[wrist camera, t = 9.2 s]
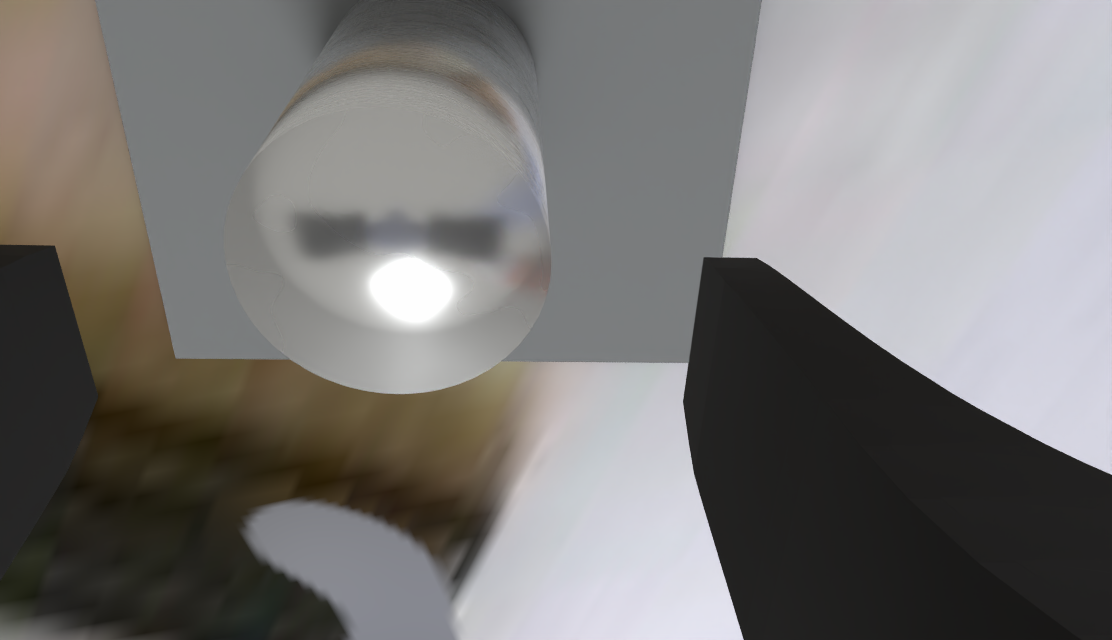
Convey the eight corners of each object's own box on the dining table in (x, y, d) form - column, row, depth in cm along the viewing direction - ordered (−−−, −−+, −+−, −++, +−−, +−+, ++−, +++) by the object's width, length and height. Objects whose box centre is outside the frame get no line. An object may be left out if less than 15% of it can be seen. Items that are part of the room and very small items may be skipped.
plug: (551, -6, 16) (575, 131, 10) (522, 196, 18) (528, 406, 12) (326, -39, 16) (215, 85, 10) (323, 172, 18) (230, 378, 12)
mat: (792, -253, 15) (800, -254, 14) (702, 350, 21) (706, 362, 21) (44, -289, 14) (29, -291, 14) (182, 346, 20) (175, 358, 20)
